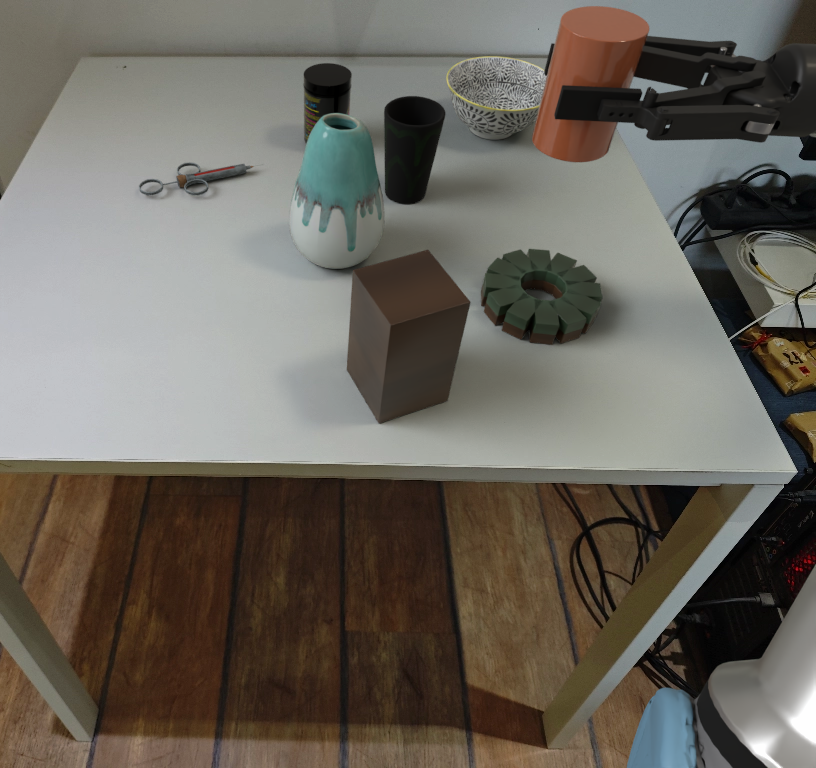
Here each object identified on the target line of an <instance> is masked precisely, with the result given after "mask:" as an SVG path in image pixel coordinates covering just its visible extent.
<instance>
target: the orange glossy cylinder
mask: <svg viewBox="0 0 816 768" xmlns="http://www.w3.org/2000/svg"><path fill="white" fill-rule="evenodd" d="M649 33H650V25H649V23H648V21H646V20H645V18H643V17H642V16H640V15H638V14H635V13H634V12H632V11H628V10H625V9H621V8H616V7H611V6H600V5H590V6H580V7H576V8H572V9H570V10H567V11H565V12H564V13H563V14H562V15H561V16H560V21H559V24H558V27H557V33H556V36H555V41H554V44H555V45H554V49H553V53H552V57H551V61H550V65H549V69H548V73H547V77H546V81H545V85H544V89H543V93H542V98H541V102H540V106H539V110H538V114H537V118H536V120H535V121H534V122H535V123H534V127H533V130H532V135H531V142H532V145H534V147H535V148H536V149H537V150H538V151H539V152H541V153H542V154H544V155H545V156H547V157H550V158H551V159H555V160H559V161H562V162H567V163H590V162H594V161H597V160H600V159H602V158H603V157H605V156H606V155H607V154H608V152H609V151H610V148H611V145H612V142H613V139H614V137H615V134H616V131H617V128H618V124H619V122H601V121H580V120H560V119H555V116H554V114H555V110H556V106H557V103H558V99H559V96H560V92H561V88H562V85H568V86H590V87H612V88H631V86H632V83H633V80H634V78H635V77H634V74H635V71H636V68H637V65H638V62H639V59H640V57H641V54H642V51H643V48H644V45H645V42H646V39H647V36H649Z"/></svg>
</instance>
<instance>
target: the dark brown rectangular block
mask: <svg viewBox="0 0 816 768" xmlns="http://www.w3.org/2000/svg"><path fill="white" fill-rule="evenodd" d="M351 278H352V279H351V292H350V309H349V325H348V326H349V327H348V341H347V355H346V356H347V357H346V372H347V373H348V375H349V376H350V378H351V380H352V381H353V383H354V385H355V386H356V388H357V390H358V391H359V393H360V395H361V396H362V398H363V400H364V402H365V403H366V405H367V406H368V408H369V410H370V412H371V413H372V415H373V416H374V419H375V420H376V422H377V424H382V423H386V422H388V421H391V420H394V419H398V418H400V417H403V416H407V415H409V414H412V413H415V412H418V411H422V410H425V409H427V408H430V407H433V406H436V405H439V404H443V403H446V402H448V401H449V397H450V393H451V388H452V384H453V379H454V375H455V372H456V366H457V362H458V358H459V354H460V350H461V346H462V342H463V338H464V333H465V327H466V325H467V320H468V315H469V311H470V307H471V303H472V302H471V300H470V299H469V298H468V296H467V295H466V294H465V293H464V292H463V290H462V289H461V288H460V287H459V286H458V284H457V283H456V282H455V280H454V279H453V278H452V277H451V276H450V274H449V273H448V272H447V271H446V270H445V268H444V267H443V266H442V265H441V263H440V262H439V261H438V260H437V258H436V257H435V256H434V255H433V254H432V253H431V251H430V250H429V249H425V250H422V251H418V252H414V253H410V254H407V255H403V256H400V257H396V258H393V259H392V258H391V259H388V260H385V261H381V262H377V263H374V264H370V265H366V266H363V267H359V268H356V269H353V270H352V277H351Z"/></svg>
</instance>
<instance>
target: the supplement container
mask: <svg viewBox="0 0 816 768" xmlns="http://www.w3.org/2000/svg"><path fill="white" fill-rule="evenodd" d="M352 76H353V73H352V71H351V70H350V69H349V68H348V67H346V66H345V65H342V64H338V63H332V62H323V63H322V62H321V63H316V64H313V65H310V66H309V67H307V68H305V70H304V71H303V84H302V87H303V140H304V143H305V145H306V144H307V141H308V138H309V135H310V133H311V131H312V129H313V128H314V126H315V124H316V123H317V122H318V120H319V119H320V118H321V117H322V116H324V115H327V114H331V113H341V114H346V115H350V116H351V114H350V113H351V93H352V78H353V77H352Z"/></svg>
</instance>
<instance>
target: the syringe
mask: <svg viewBox="0 0 816 768" xmlns="http://www.w3.org/2000/svg"><path fill="white" fill-rule="evenodd" d="M264 165H265V163H263V164H261V166H264ZM259 166H260V164H258V165H256V167H259ZM184 167H195V168H197V169H198V170H197V171H196V172H193V173H185V174H184V173H182V172H180V170H181V169H182V168H184ZM254 167H255V165H246V164H245V163H240V164H239V163H238V164H234V165H229V166H224V167H218V168H214V169H208V170H203V171H201V166H200V165H199V164H198V163H196V162H190V161H189V162H183V163H181V164H180V165H178V166H177V168H176V173H177V175H176V178H175V179H176V180H175V181H171V182H165V183H163V182H162V181H161V180H160V179H156V178H147V179H145V180H143V181H141V182H140V183H139V184H138V190H139V193H141V194H142V195H145V196H156V195H159V194H160V193H161V192H163V190H164V186H168V185H171V184H177V186H178V188H183V189H184V192H185V193H186V194H188V195H190V196H193V197H194V196H196V197H197V196H201V195H204V194H206V193H208V191H209V189H210V187H209V183H208V181H213V180H217V179H222V178H223V179H224V178H228V177H232V176H237V175H242V174H246V173H247V171H248V170H251V169H253V168H254ZM149 183H157V184H159V185H160V188H158V189H157V190H154V191H146V190H143V189H142V187H143V186H145V185H146V184H149ZM194 184H204V185H205V186H206V188H204V189H203V190H200V191H191V190H189V189H187V187H188V186H191V185H194Z"/></svg>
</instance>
